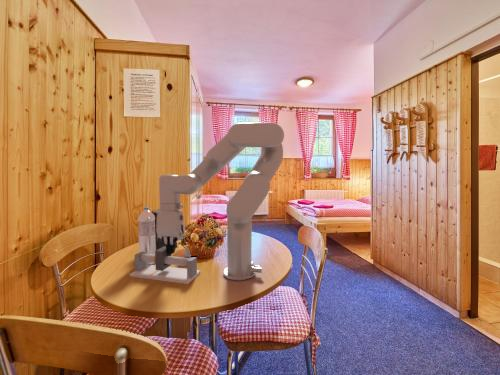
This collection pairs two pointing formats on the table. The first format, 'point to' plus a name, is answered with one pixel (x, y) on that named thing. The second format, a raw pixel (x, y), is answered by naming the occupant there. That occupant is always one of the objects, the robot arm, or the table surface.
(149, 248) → the water bottle
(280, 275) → the table surface
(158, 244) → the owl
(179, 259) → the slider rail stand
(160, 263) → the collar
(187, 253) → the skincare box
